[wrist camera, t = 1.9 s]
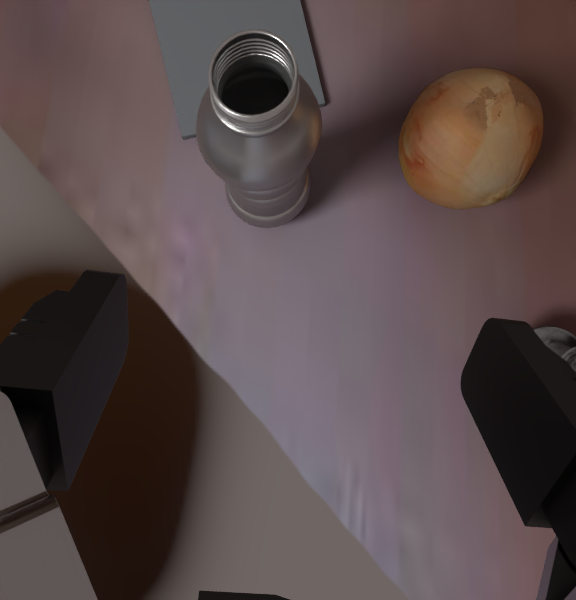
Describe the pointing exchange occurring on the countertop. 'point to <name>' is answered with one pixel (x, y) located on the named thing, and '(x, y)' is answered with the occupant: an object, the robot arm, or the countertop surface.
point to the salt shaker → (559, 343)
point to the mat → (212, 32)
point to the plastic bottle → (259, 127)
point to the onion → (471, 138)
